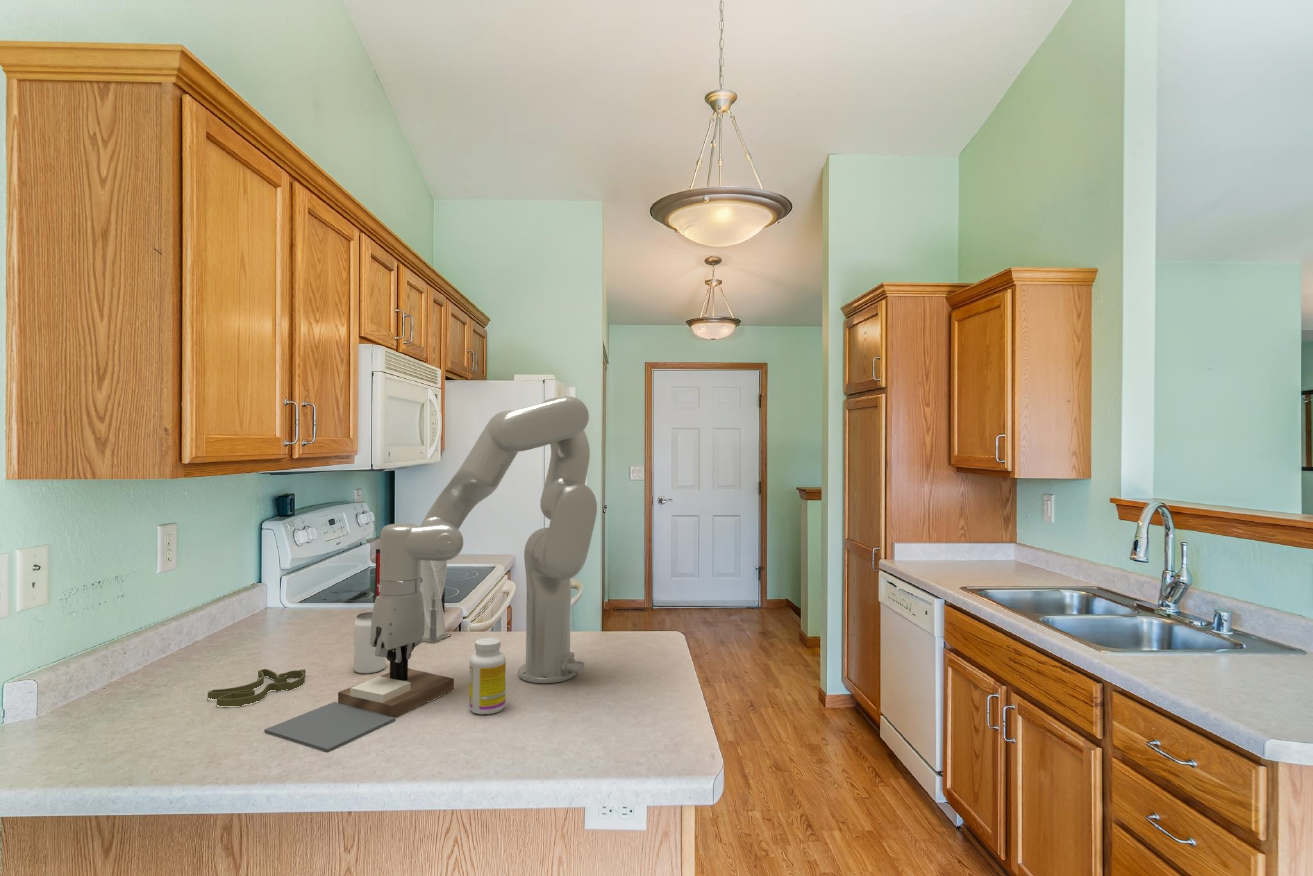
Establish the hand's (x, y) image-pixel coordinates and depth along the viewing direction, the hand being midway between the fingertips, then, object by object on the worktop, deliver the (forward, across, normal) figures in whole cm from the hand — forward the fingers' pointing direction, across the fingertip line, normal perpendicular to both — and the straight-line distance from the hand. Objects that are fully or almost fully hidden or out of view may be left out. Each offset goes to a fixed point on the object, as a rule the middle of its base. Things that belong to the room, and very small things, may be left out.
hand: (398, 680), depth 135 cm
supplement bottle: (+4, -4, +19) cm, 20 cm away
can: (+4, -9, -18) cm, 20 cm away
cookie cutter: (+4, +11, -27) cm, 29 cm away
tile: (+1, +5, +1) cm, 5 cm away
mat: (+3, +15, 0) cm, 16 cm away
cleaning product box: (+4, -44, -43) cm, 62 cm away
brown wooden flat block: (+3, 0, 0) cm, 3 cm away
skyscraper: (+4, -32, -24) cm, 41 cm away
